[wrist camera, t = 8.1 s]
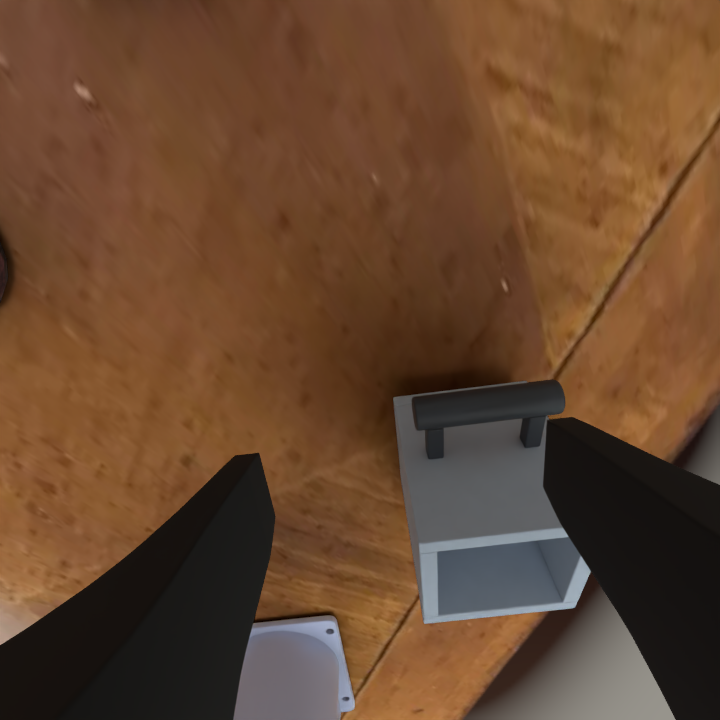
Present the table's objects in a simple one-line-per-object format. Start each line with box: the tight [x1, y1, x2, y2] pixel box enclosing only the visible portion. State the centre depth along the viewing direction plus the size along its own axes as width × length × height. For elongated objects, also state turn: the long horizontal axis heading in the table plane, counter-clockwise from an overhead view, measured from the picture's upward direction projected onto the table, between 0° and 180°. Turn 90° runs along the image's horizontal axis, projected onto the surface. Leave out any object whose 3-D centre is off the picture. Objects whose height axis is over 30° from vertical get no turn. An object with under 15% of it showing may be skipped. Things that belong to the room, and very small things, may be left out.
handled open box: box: [393, 380, 590, 624], centre depth 16 cm, size 7×6×9 cm
